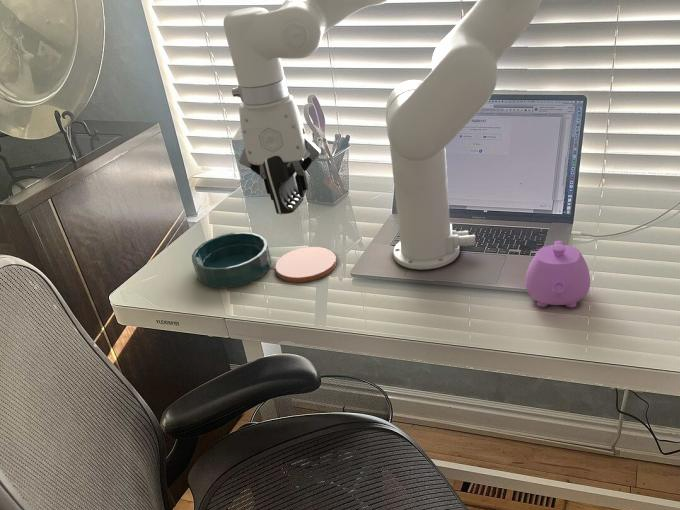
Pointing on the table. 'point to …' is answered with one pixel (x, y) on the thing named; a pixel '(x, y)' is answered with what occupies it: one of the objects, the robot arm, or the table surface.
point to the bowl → (231, 259)
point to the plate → (305, 264)
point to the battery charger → (282, 184)
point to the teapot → (558, 276)
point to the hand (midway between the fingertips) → (288, 194)
